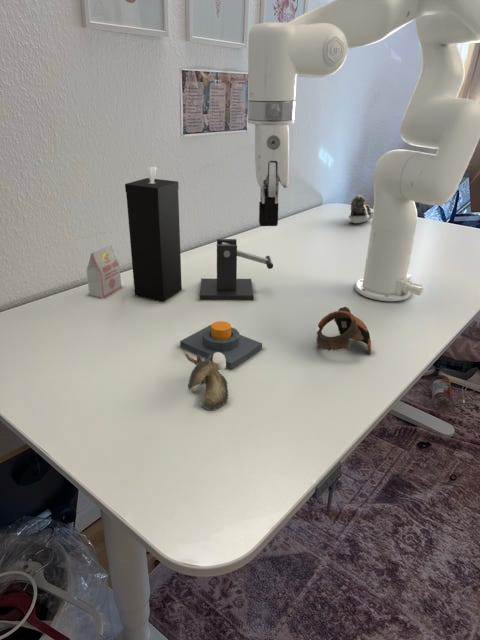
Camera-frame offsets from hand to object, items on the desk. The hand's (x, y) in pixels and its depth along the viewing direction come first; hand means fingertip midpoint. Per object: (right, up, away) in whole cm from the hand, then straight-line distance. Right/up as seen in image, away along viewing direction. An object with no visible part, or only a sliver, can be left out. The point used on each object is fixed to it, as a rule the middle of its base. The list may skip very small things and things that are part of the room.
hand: (268, 224), depth 85 cm
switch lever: (-4, -4, +23) cm, 23 cm away
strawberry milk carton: (-36, -11, +24) cm, 45 cm away
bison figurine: (+37, +17, +83) cm, 93 cm away
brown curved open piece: (+14, -22, +4) cm, 27 cm away
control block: (-9, -22, +2) cm, 24 cm away
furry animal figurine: (-10, -29, -10) cm, 32 cm away
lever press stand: (-8, -10, +26) cm, 29 cm away
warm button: (-8, -20, +1) cm, 22 cm away
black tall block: (-24, -11, +24) cm, 35 cm away
